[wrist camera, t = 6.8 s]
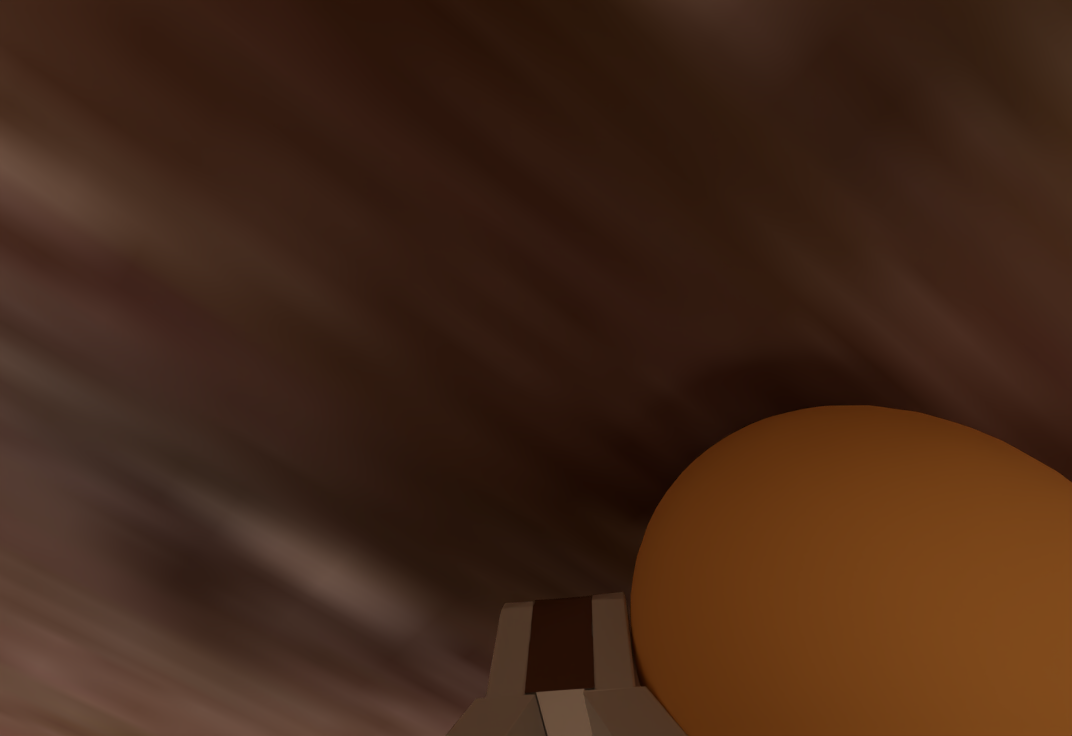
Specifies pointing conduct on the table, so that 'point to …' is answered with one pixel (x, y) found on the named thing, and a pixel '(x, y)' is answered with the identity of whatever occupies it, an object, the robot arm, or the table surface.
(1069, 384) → the table surface
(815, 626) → the ball
